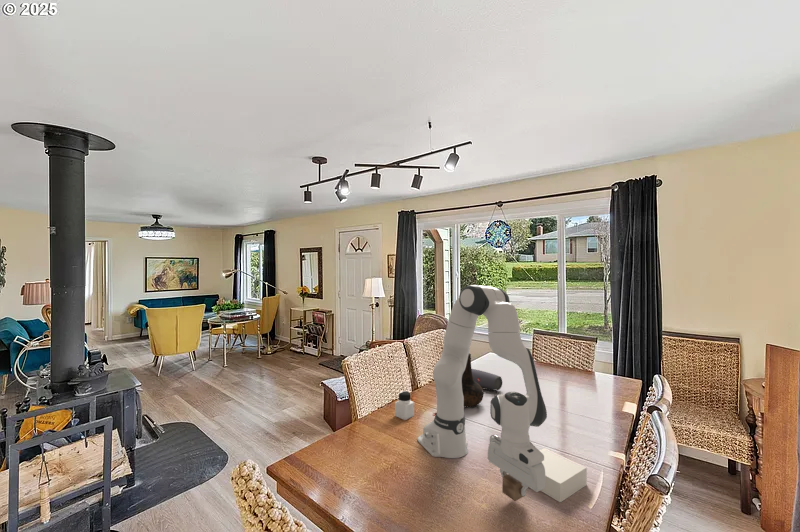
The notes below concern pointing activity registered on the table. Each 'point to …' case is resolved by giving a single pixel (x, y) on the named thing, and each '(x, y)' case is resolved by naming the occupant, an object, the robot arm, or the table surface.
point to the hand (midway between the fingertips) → (514, 488)
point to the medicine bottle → (404, 406)
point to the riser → (562, 475)
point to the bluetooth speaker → (487, 379)
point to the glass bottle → (471, 387)
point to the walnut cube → (511, 487)
